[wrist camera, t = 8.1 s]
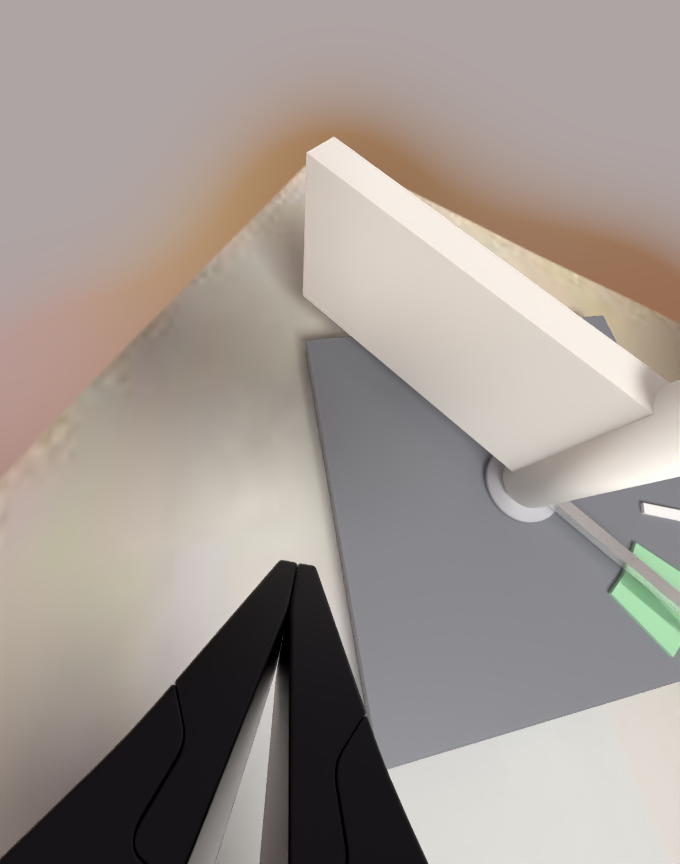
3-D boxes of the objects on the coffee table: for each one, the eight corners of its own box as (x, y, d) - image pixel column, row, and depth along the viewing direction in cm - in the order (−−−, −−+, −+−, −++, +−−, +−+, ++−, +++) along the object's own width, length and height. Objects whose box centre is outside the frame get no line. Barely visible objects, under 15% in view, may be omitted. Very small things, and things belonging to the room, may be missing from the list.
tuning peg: (710, 602, 19) (1118, 642, 9) (691, 651, 18) (1126, 751, 8) (327, 287, 23) (348, 100, 14) (294, 312, 22) (293, 130, 13)
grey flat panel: (373, 753, 17) (382, 776, 15) (305, 353, 24) (306, 336, 22) (739, 646, 20) (781, 655, 19) (587, 328, 27) (607, 312, 26)
